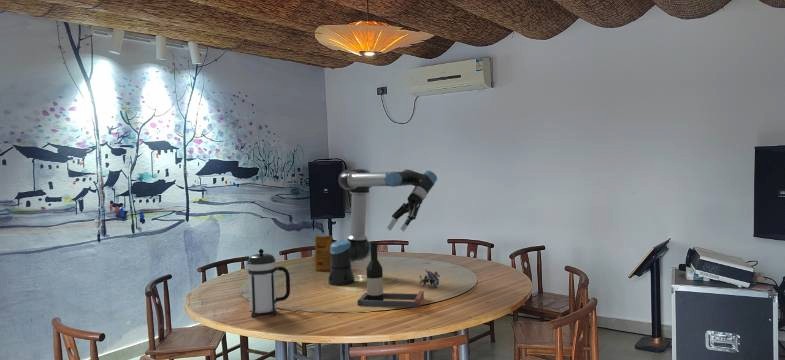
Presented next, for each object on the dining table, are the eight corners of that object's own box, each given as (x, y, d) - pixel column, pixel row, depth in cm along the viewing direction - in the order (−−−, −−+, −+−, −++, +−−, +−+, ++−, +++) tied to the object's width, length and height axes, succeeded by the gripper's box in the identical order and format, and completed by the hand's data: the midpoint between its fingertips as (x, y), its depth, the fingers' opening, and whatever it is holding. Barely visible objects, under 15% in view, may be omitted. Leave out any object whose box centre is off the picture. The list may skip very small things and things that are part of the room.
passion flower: (436, 297, 286) (440, 283, 278) (417, 294, 286) (420, 279, 279) (438, 282, 294) (441, 267, 287) (418, 278, 295) (421, 264, 288)
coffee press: (264, 319, 236) (262, 252, 234) (239, 315, 244) (237, 250, 243) (291, 310, 250) (289, 246, 249) (267, 305, 259) (265, 244, 258)
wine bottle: (386, 300, 263) (384, 240, 262) (380, 304, 255) (378, 242, 254) (370, 299, 266) (368, 239, 265) (364, 303, 258) (362, 242, 257)
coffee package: (315, 268, 347) (314, 234, 346) (334, 267, 347) (333, 234, 346) (313, 271, 337) (312, 237, 336) (332, 270, 337) (331, 236, 336)
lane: (357, 305, 255) (357, 297, 254) (365, 297, 269) (365, 289, 269) (419, 307, 249) (419, 298, 249) (423, 298, 264) (423, 290, 263)
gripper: (435, 201, 266) (412, 234, 258) (409, 201, 287) (388, 233, 280) (425, 191, 263) (402, 225, 256) (400, 193, 285) (378, 224, 277)
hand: (394, 229), depth 268 cm, fingers open, 13 cm apart
